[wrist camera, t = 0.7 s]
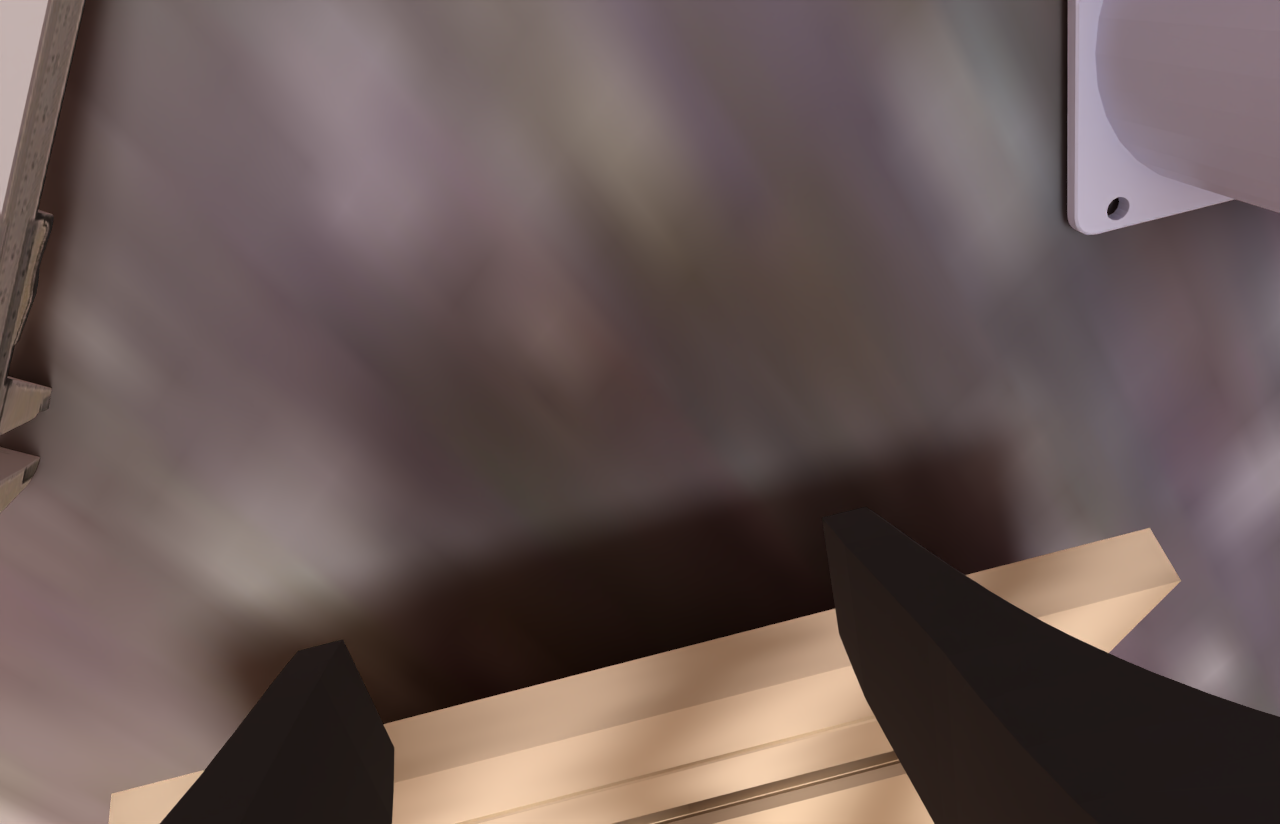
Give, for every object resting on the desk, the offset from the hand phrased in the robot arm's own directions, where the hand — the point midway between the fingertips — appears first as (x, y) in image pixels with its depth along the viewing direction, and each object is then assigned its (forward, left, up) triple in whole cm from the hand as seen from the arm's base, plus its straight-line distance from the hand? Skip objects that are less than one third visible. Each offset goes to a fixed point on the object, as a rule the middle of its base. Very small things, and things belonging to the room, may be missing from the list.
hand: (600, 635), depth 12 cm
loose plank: (0, +9, -7) cm, 12 cm away
